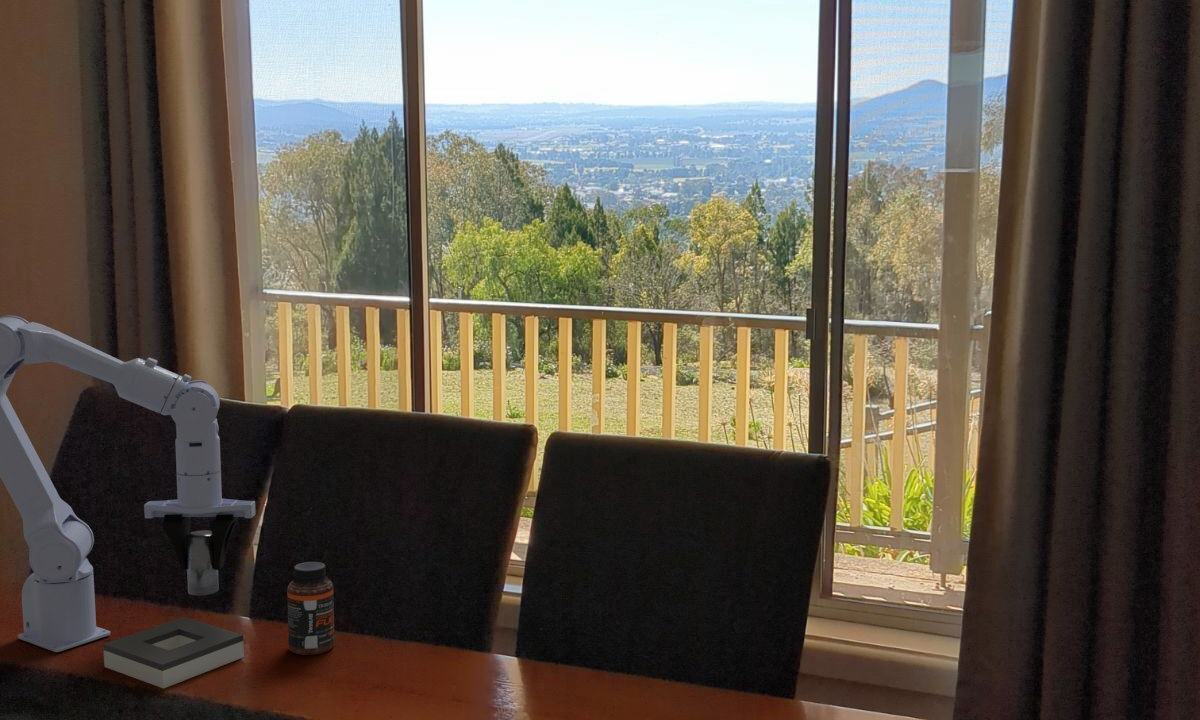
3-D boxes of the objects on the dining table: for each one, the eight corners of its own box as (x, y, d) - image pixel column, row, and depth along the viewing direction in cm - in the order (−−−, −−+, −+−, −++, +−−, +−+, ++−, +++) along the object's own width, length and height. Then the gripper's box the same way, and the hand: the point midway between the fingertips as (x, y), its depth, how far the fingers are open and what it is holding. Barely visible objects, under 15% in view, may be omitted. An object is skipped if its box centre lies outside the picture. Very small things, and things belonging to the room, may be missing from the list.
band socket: (104, 666, 145) (103, 644, 145) (185, 638, 155) (184, 616, 155) (163, 688, 139) (162, 664, 138) (243, 657, 149) (243, 634, 148)
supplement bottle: (322, 658, 148) (320, 574, 147) (280, 655, 149) (277, 571, 148) (342, 642, 154) (340, 560, 153) (301, 638, 155) (298, 557, 154)
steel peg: (181, 591, 158) (179, 535, 157) (206, 584, 161) (204, 528, 160) (200, 597, 156) (198, 540, 155) (224, 589, 159) (222, 533, 158)
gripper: (260, 465, 160) (263, 559, 162) (155, 465, 160) (159, 559, 162) (245, 476, 153) (249, 574, 155) (136, 476, 153) (141, 574, 155)
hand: (202, 568), depth 158 cm, fingers closed on steel peg, 4 cm apart
